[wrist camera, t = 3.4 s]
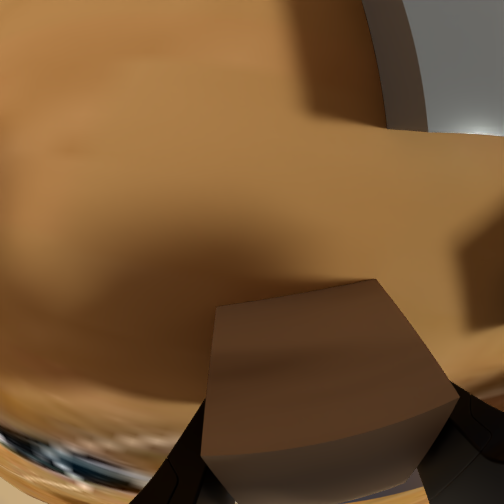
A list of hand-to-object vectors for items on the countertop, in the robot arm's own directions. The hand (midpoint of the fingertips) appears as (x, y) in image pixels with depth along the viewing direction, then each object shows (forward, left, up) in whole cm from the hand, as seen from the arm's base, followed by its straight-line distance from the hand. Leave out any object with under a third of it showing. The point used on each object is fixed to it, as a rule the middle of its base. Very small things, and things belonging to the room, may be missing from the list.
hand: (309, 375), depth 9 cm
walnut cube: (0, 0, -1) cm, 1 cm away
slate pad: (+12, -8, -1) cm, 14 cm away
